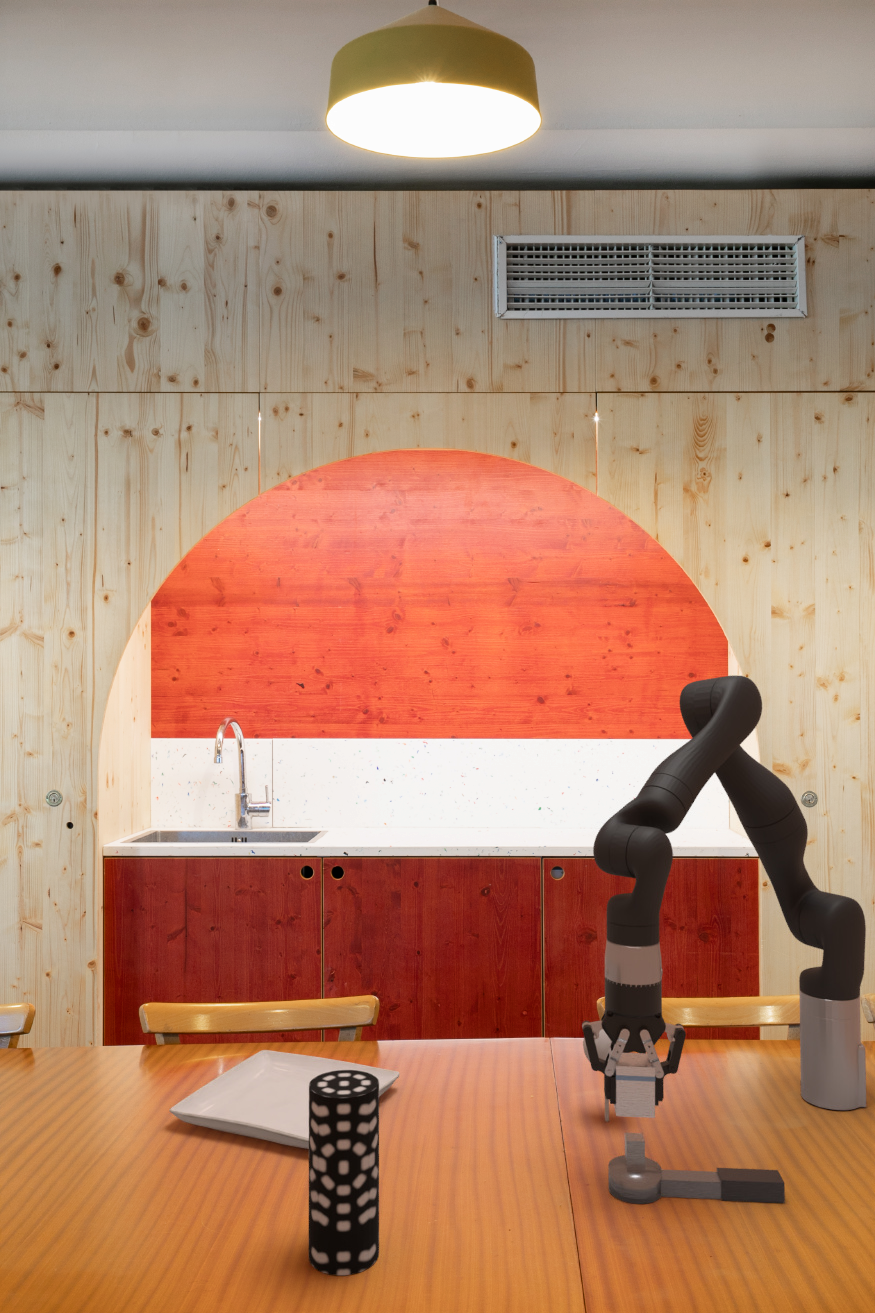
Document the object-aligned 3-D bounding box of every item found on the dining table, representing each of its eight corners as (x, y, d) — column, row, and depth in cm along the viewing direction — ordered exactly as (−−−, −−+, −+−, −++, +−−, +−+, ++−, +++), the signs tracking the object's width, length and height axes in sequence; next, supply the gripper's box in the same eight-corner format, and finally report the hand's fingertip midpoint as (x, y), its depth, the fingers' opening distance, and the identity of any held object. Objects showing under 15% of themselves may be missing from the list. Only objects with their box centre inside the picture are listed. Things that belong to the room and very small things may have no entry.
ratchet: (774, 1183, 132) (773, 1130, 133) (788, 1210, 125) (787, 1155, 126) (606, 1176, 134) (606, 1124, 135) (610, 1203, 127) (610, 1148, 128)
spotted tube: (310, 1237, 120) (310, 1071, 120) (378, 1233, 120) (378, 1069, 121) (306, 1278, 111) (307, 1099, 112) (379, 1274, 112) (379, 1097, 113)
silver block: (650, 1102, 133) (650, 1053, 133) (655, 1118, 128) (655, 1068, 128) (612, 1100, 134) (612, 1052, 134) (615, 1116, 129) (616, 1066, 129)
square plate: (165, 1133, 149) (165, 1107, 149) (263, 1068, 174) (263, 1046, 174) (323, 1166, 138) (323, 1138, 138) (402, 1092, 164) (402, 1068, 164)
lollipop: (630, 1133, 147) (629, 1032, 148) (582, 1128, 149) (581, 1029, 149) (630, 1113, 154) (629, 1016, 155) (584, 1109, 156) (584, 1013, 156)
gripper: (682, 968, 135) (683, 1093, 134) (577, 965, 136) (577, 1089, 135) (692, 984, 127) (692, 1117, 127) (580, 981, 129) (580, 1112, 128)
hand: (633, 1102), depth 131 cm, fingers closed on silver block, 5 cm apart
